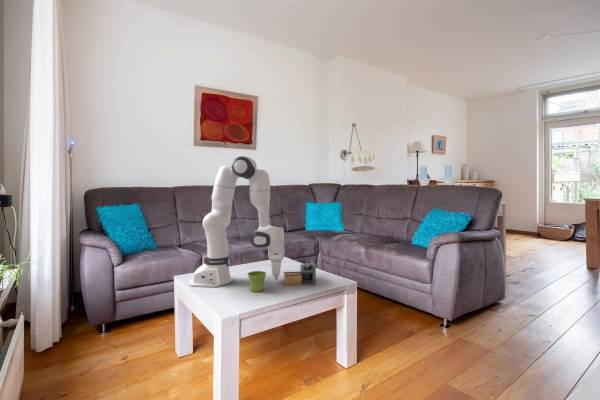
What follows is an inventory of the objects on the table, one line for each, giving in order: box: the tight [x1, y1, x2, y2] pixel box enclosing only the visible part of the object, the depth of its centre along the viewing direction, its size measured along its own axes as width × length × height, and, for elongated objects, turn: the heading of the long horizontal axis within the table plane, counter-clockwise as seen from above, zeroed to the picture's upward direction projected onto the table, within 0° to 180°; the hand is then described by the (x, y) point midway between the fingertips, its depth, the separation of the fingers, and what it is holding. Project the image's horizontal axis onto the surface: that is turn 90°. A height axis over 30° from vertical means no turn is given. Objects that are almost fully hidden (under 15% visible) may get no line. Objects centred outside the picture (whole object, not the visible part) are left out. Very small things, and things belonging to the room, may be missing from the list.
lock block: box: [283, 271, 303, 286], centre depth 175 cm, size 9×8×5 cm
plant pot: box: [247, 270, 267, 293], centre depth 163 cm, size 9×9×9 cm
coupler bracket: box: [299, 260, 317, 286], centre depth 176 cm, size 7×12×10 cm, turn 4°
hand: (276, 278), depth 174 cm, fingers closed
